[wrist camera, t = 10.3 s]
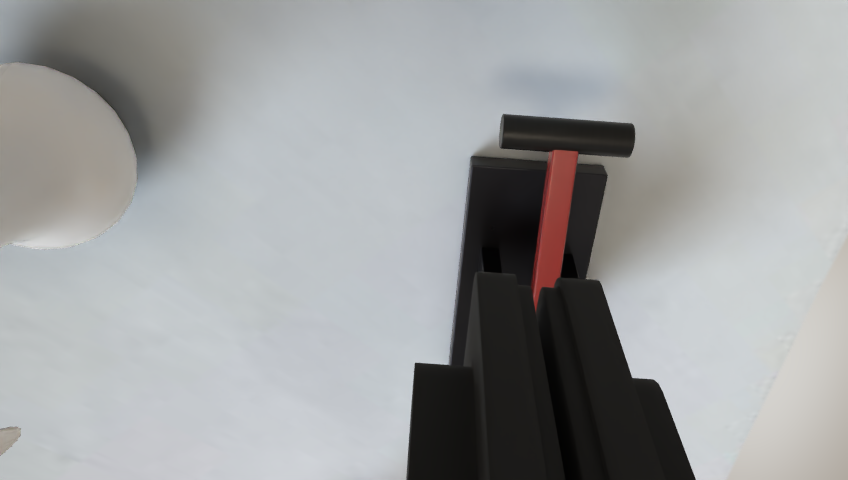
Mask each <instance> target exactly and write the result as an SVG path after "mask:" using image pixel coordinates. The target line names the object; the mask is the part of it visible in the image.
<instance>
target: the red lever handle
mask: <svg viewBox="0 0 848 480" xmlns="http://www.w3.org/2000/svg"><path fill="white" fill-rule="evenodd" d="M634 143H635V128H634V125H633V124H631V123H617V122H604V121H590V120H577V119H563V118H549V117H536V116H522V115H508V114H503V115H502V118H501V124H500V133H499V146H500V148H502V149H516V150H530V151H543V152H549V156H548V163H547V171H546V179H545V186H544V194H543V201H542V209H541V216H540V224H539V231H538V239H537V246H536V254H535V261H534V269H533V277H532V284H531V289H532V294H533V300H534V306H535V311H536V309H537V303H538V298H539V293H540V290H541V288H542V287H553V288H554V284H555V282H556V279H557V278H558V277H559V278H560V275H561V268H562V261H563V254H564V248H565V241H566V234H567V227H568V220H569V214H570V207H571V200H572V193H573V187H574V180H575V173H576V166H577V159H578V154H584V155H598V156H612V157H625V158H628V157H630V156H631V154H632V151H633V148H634Z"/></svg>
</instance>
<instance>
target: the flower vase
mask: <svg viewBox="0 0 848 480" xmlns="http://www.w3.org/2000/svg"><path fill="white" fill-rule="evenodd" d="M137 180H138V177H137V157H136V154H135V151H134V148H133V145H132V142H131V139H130V136H129V133H128V131H127V130H126V128H125V126H124V125H123V123H122V122H121V120H120V118H119V117H118V115H117V113H116V112H115V111H114V110H113V108H112V107H111V106H110V105H109V104H108V103H107V102H106V101H105V100H104V99H103V98H102V97H101V96H100V95H99V94H98V93H97V92H95V91H94V90H92V89H91V88H89V87H88V86H86V85H85V84H83V83H82V82H80V81H79V80H77V79H76V78H74V77H72V76H69V75H67V74H64V73H62V72H59V71H57V70H54V69H52V68H50V67H47V66H41V65H35V64H28V63H22V62H14V63H5V64H0V248H2V247H3V246H6V245H9V244H12V245H15V246H20V247H27V248H34V249H42V250H47V249H59V248H69V247H73V246H76V245H79V244H82V243H84V242H87V241H90V240H93V239H95V238H97V237H99V236H100V235H102V234H103V233H104V232H106V231H107V230H108V229H110V228H111V227H112V226H114V225H115V224H116V223H117V222H119V220H120V219H121V217H122V216H123V214H124V213H125V211H126V210H127V209H128V207H129V206H130V204H131V203H132V199H133V196H134V192H135V188H136V184H137ZM20 432H21V428H18V427H7V428H2V429H0V456H1V455H2V454H3V453H5V452H6V450H8V449H9V448H10V447H11V446H12V445H13V444H14V443H15V442H16V441H17V439H18V438H19V437H20V435H21V434H20Z"/></svg>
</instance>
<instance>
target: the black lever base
mask: <svg viewBox="0 0 848 480" xmlns="http://www.w3.org/2000/svg"><path fill="white" fill-rule="evenodd" d="M547 163H548V162H541V161H527V160H514V159H500V158H486V157H473V156H472V157H471V160H470V169H469V179H468V188H467V197H466V207H465V216H464V225H463V235H462V244H461V253H460V263H459V272H458V282H457V291H456V300H455V310H454V319H453V328H452V338H451V347H450V356H449V365H454V366H463V365H464V357H465V349H466V340H467V332H468V324H469V315H470V307H471V299H472V290H473V283H474V276H475V273H476V272H490V273H504V274H515V275H516V277H517V283H518V285H525V286H531V284H532V277H533V269H534V261H535V254H536V246H537V239H538V231H539V224H540V216H541V209H542V201H543V194H544V186H545V179H546V171H547ZM607 176H608V175H607V173H606V171H605V168H604V166H596V165H582V164H577V166H576V173H575V180H574V187H573V193H572V200H571V207H570V214H569V220H568V227H567V234H566V241H565V248H564V254H563V261H562V268H561V275H560V278H573V279H586V275H587V271H588V266H589V261H590V256H591V252H592V247H593V242H594V238H595V233H596V228H597V224H598V219H599V214H600V209H601V205H602V200H603V195H604V191H605V186H606V181H607Z"/></svg>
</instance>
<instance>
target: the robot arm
mask: <svg viewBox="0 0 848 480" xmlns="http://www.w3.org/2000/svg"><path fill="white" fill-rule="evenodd" d="M407 480H696V479H695V476H694V474H693V471H692V469H691V466H690V463H689V461H688V458H687V455H686V453H685V450H684V447H683V445H682V442H681V439H680V437H679V434H678V431H677V429H676V426H675V423H674V421H673V418H672V415H671V413H670V410H669V407H668V405H667V402H666V399H665V397H664V394H663V392H662V390H661V388H660V386H659V384H658V383H657V382H656V381H654V380H652V379H638V378H632V376H631V373H630V370H629V367H628V364H627V361H626V358H625V355H624V352H623V349H622V346H621V343H620V340H619V337H618V334H617V331H616V328H615V325H614V322H613V319H612V316H611V313H610V310H609V307H608V303H607V300H606V297H605V294H604V291H603V288H602V285H601V283H600V281H598V280H587V279H573V278H559V277H558V278H557V279H556V282H555V284H554V288H553V287H542V288H541V290H540V293H539V298H538V303H537V309H536V311H535V306H534V300H533V294H532V289H531V286H525V285H518V283H517V277H516V275H515V274H504V273H490V272H476V273H475V276H474V283H473V290H472V299H471V307H470V315H469V324H468V332H467V340H466V349H465V357H464V365H463V366H454V365H440V364H425V363H415V368H414V381H413V394H412V407H411V421H410V435H409V449H408V464H407Z"/></svg>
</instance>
